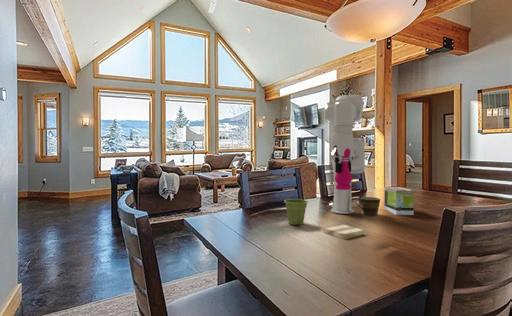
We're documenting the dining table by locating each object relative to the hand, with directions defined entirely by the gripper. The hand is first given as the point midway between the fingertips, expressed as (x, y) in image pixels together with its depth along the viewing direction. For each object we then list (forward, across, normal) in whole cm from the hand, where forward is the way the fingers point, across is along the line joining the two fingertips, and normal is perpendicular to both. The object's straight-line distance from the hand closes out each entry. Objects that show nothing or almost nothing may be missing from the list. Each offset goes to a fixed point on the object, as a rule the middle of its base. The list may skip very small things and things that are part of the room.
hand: (343, 171), depth 123 cm
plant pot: (+27, +5, -25) cm, 37 cm away
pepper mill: (+8, 0, 0) cm, 8 cm away
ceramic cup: (+27, -37, -14) cm, 48 cm away
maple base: (+27, 0, 0) cm, 27 cm away
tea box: (+27, -57, -8) cm, 64 cm away
